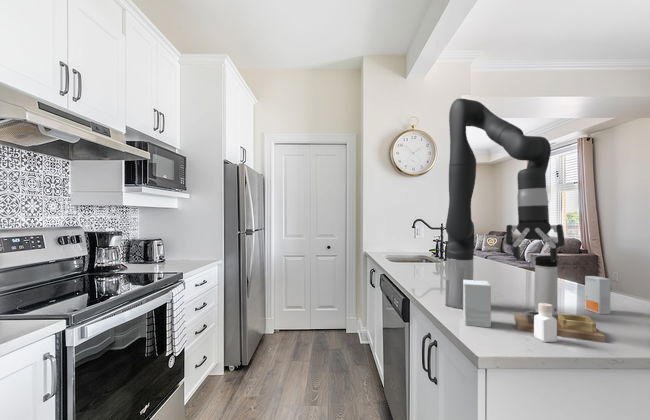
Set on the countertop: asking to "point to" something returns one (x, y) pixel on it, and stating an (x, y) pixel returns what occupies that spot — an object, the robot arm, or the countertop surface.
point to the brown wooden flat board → (564, 326)
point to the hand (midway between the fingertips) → (535, 260)
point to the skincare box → (597, 294)
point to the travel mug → (546, 283)
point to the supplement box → (477, 303)
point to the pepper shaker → (545, 324)
